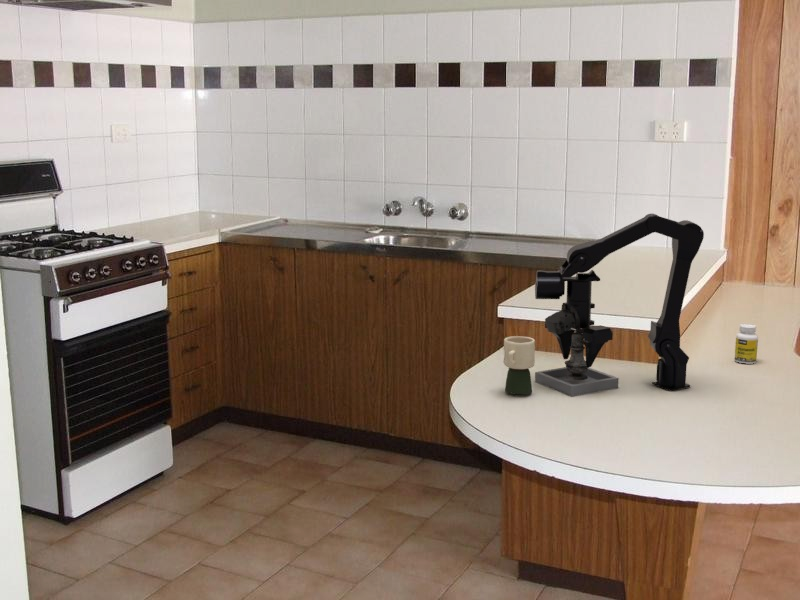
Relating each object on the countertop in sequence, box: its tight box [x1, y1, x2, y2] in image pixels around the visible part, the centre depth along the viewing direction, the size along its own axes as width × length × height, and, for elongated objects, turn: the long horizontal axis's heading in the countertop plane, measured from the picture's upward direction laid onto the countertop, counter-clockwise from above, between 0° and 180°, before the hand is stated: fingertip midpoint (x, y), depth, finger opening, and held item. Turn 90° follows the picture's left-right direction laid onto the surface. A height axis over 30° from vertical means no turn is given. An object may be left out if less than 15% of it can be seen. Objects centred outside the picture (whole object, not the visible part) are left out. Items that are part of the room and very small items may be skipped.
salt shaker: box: [564, 331, 588, 380], centre depth 223 cm, size 6×6×12 cm
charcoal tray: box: [534, 366, 620, 398], centre depth 224 cm, size 14×14×2 cm
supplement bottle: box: [734, 323, 759, 365], centre depth 243 cm, size 5×5×10 cm
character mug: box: [503, 335, 536, 396], centre depth 216 cm, size 11×7×13 cm, turn 149°
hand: (577, 363), depth 223 cm, fingers closed on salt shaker, 8 cm apart
